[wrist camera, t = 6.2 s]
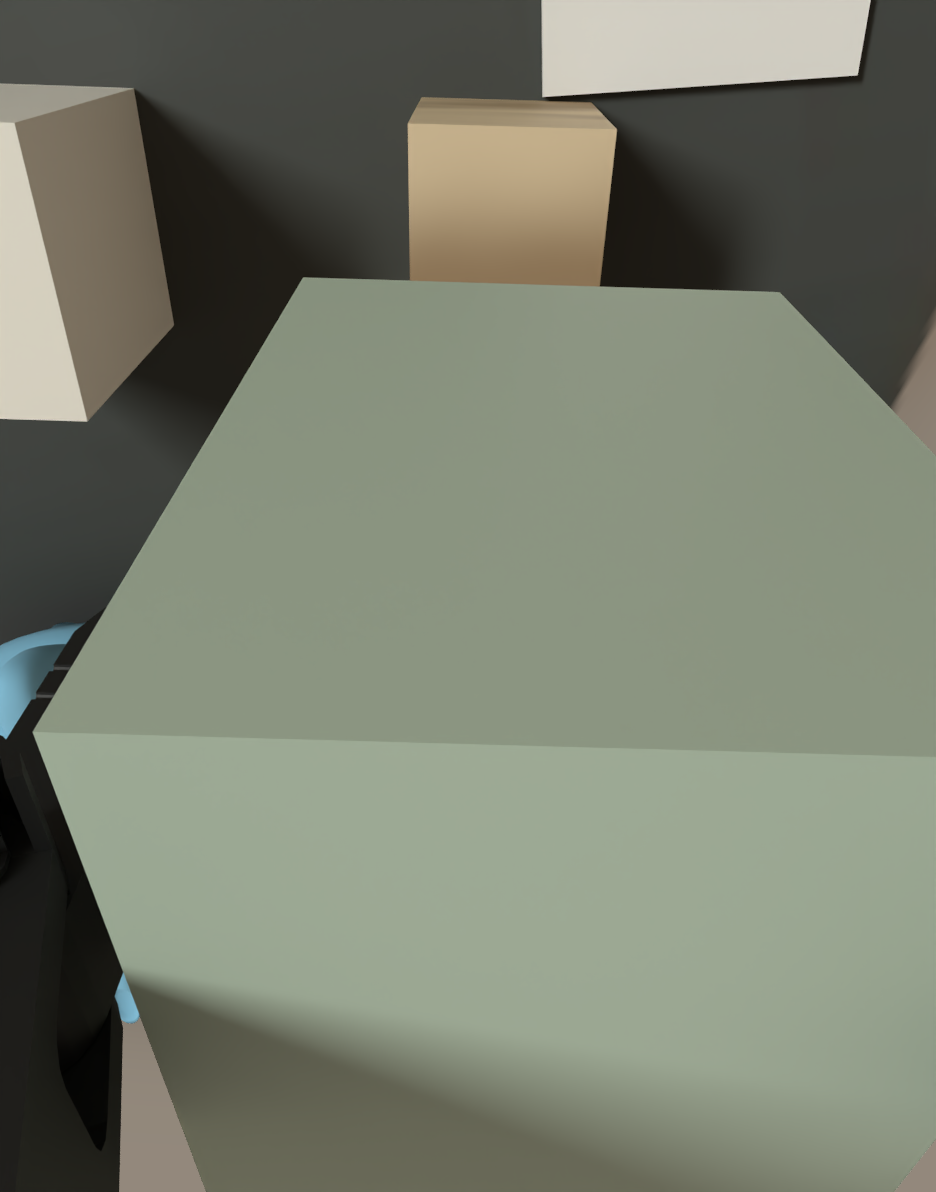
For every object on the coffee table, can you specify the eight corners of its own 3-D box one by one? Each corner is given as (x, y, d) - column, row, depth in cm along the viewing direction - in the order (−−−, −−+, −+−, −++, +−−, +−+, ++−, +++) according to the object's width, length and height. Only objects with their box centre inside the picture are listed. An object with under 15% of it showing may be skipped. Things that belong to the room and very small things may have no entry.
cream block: (-71, 81, 25) (-262, 113, 19) (134, 88, 25) (13, 122, 19) (-2, 319, 29) (-140, 414, 23) (174, 324, 29) (87, 421, 23)
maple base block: (422, 97, 25) (407, 123, 20) (590, 101, 25) (617, 129, 20) (423, 332, 29) (412, 401, 24) (568, 335, 29) (586, 405, 24)
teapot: (125, 515, 34) (-23, 698, 25) (375, 724, 40) (330, 938, 30) (-38, 671, 39) (-212, 871, 30) (203, 837, 45) (120, 1050, 35)
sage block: (302, 277, 11) (32, 732, 4) (779, 292, 11) (1231, 765, 4) (334, 647, 14) (211, 1205, 8) (693, 657, 14) (870, 1222, 8)
